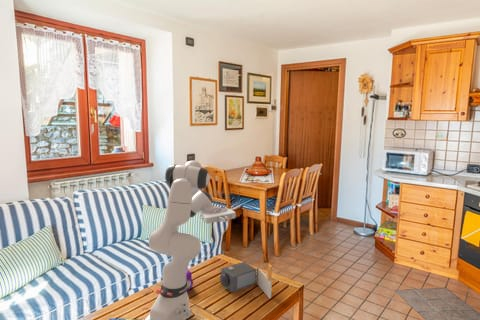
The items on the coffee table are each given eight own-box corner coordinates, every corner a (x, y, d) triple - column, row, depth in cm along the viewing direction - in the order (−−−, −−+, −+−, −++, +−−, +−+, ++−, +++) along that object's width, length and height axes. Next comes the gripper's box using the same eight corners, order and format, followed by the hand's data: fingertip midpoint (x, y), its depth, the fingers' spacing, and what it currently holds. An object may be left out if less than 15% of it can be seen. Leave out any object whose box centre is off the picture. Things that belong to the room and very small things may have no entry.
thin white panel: (268, 298, 168) (269, 267, 165) (255, 283, 182) (256, 254, 180) (270, 298, 168) (272, 266, 166) (258, 283, 183) (259, 254, 180)
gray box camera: (217, 284, 180) (218, 268, 179) (244, 275, 191) (244, 260, 189) (228, 294, 171) (229, 276, 170) (255, 284, 182) (256, 267, 180)
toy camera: (183, 297, 167) (183, 279, 166) (165, 288, 175) (165, 270, 174) (198, 288, 176) (198, 271, 174) (180, 280, 184) (181, 263, 182)
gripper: (198, 211, 188) (210, 218, 177) (228, 206, 200) (241, 212, 189) (198, 221, 189) (210, 229, 178) (227, 216, 201) (240, 222, 190)
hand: (226, 220), depth 184 cm, fingers closed
